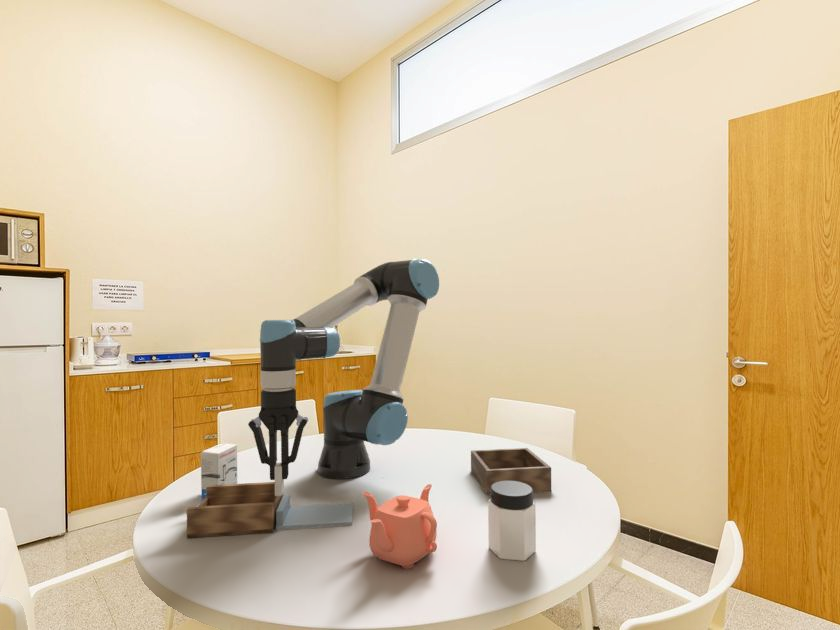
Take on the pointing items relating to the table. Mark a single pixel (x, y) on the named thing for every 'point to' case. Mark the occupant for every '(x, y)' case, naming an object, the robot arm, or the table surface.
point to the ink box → (218, 466)
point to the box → (234, 510)
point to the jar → (512, 520)
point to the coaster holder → (510, 468)
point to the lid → (312, 515)
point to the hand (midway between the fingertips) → (279, 493)
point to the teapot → (402, 528)
